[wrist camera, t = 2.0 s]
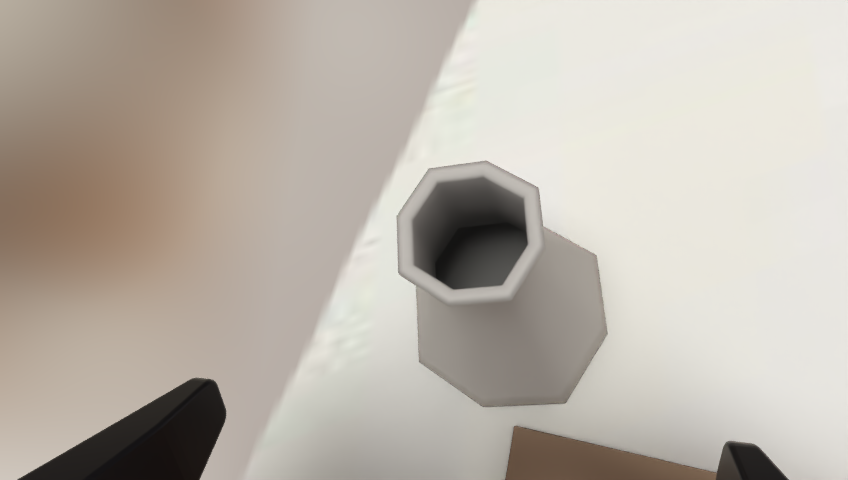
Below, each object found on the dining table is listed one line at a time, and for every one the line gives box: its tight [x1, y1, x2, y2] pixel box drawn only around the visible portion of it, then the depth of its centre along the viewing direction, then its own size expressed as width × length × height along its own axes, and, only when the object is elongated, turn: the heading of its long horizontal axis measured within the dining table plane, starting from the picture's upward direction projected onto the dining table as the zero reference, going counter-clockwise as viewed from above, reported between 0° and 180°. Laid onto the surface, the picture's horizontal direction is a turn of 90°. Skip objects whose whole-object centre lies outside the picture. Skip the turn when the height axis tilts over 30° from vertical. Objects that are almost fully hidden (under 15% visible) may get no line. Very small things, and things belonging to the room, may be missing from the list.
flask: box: [397, 161, 607, 407], centre depth 16 cm, size 7×7×10 cm
